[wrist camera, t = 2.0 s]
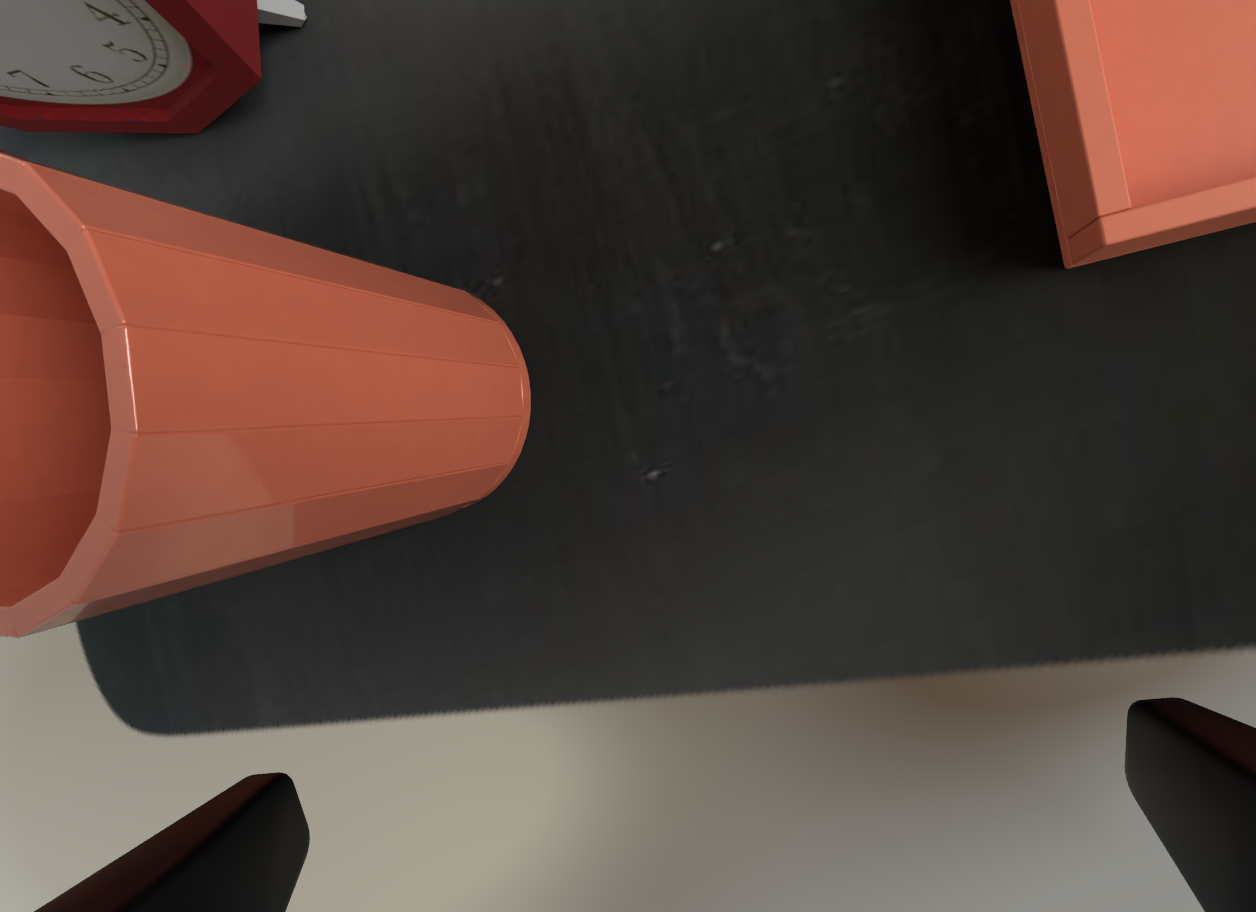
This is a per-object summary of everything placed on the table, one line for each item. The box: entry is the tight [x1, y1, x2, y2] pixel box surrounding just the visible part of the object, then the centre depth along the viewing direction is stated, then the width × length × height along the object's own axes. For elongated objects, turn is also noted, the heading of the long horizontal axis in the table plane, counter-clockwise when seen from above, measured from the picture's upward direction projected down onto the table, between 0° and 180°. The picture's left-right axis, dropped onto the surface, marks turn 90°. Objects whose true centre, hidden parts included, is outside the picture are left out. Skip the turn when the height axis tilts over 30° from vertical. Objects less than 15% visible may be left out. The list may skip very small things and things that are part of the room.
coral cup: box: [0, 151, 531, 638], centre depth 16 cm, size 7×7×12 cm
